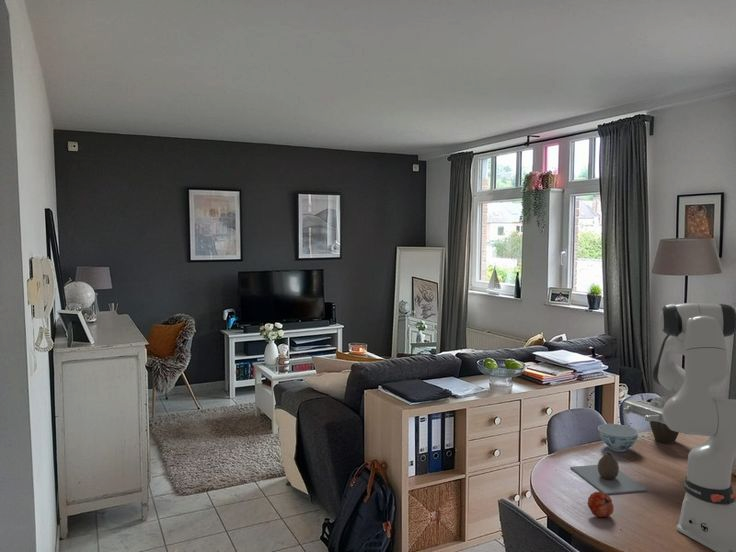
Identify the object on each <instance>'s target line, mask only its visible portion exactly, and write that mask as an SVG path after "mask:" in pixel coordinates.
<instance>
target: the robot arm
mask: <svg viewBox="0 0 736 552" xmlns="http://www.w3.org/2000/svg"><path fill="white" fill-rule="evenodd" d="M658 321H659V322H658V324H659V325H660V327H661V330H662V332H663V333H664V334H665V335H666V336H665V337H664V339H663V341H662V344H661V347H660V349H659V352H658V357H657V361H656V363H655V365H654V366H653V369H652V374H651V375H652V378H653V379H652V380H653V382H655V383H656V384H658V385H659V386H661V387H663V388H665V389H666V390H667V391H669V392H670V394H669V395H664V396H663V395H662V396H657V397H654V399H653V398H651V399H652V400H651V402H650V403H649V402H646V400H642V399H638V398H637V399H635V398H634V399H627V400H624V401H623V409H622V411H623V414H626V415H628V414H629V415H630V414H634V415H637V416H640V417H643V418H645V419H644V420H645V421H647V422H648V423H650V421H657V422H660V423H663V424H666V425H667V426H668V427H669V429H671V430H672V431H676V432H679V434H684V435H689V436H701V437H702V436H703V437H709V438H708V439H707V440H706V441H705V442H703V443H701V444H699V445H696V446H694V447H693V448H692V449H690V451H689V453H688V455H687V467H686V468H687V469H686V470H687V471H686V473H687V474H686V476H685V477H684V479H685V480H684V491H685V494H684V497H683V501H682V504H681V508H680V509H681V511H680V516H679V518H678V523H677V525H676V531H677V532H680V533H681V534H683V535H685V536H687V537H688V538H691V539H692V540H694V541H696V542H697V543H699V544H700V545H703V546H704V547H707V548H708V549H710V550H712V551H714V552H736V493H734V489H733V486H732V483H731V481H732V470H733V463H734V460H735V457H736V399H731V398H718V397H717V398H715V397H710V390H711V389H713V388H715V387H718V386H721V385H722V384H724V383H725V382H726V381H727V380H728V379H729V376H730V370H729V369H730V368H729V361H728V353H727V352H728V351H727V344H726V340H725V338H726V337H731V336H733V335H734V334H735V333H736V310H735V308H734V307H732V305H729V304H724V303H719V304H715V303H707V302H706V303H704V302H702V303H700V302H685V303H684V302H683V303H677V304H676V303H669V304H665V305H663V306H662V308H661V310H660V313H659V316H658ZM677 354H679V355H681V356H684V358H685V359H684V361H685V369H684V368H683V367H681V366H680V365H679V364H678V363H676V361H675V359H676V356H677Z"/></svg>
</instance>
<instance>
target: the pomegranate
mask: <svg viewBox="0 0 736 552" xmlns="http://www.w3.org/2000/svg"><path fill="white" fill-rule="evenodd" d="M587 506H588V509H589V510H590V512H591V515H594V516H595V517H597V518H604V517H605V518H606V517H607V518H609V517H610V516H611V515H612V514H613V512H614V511H615V510H614V504H613V502H612V498H611V497H610V495H606V494H603V493H602V492H600V491H596V492H592V493H591V494H589V496H588V497H587Z"/></svg>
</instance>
